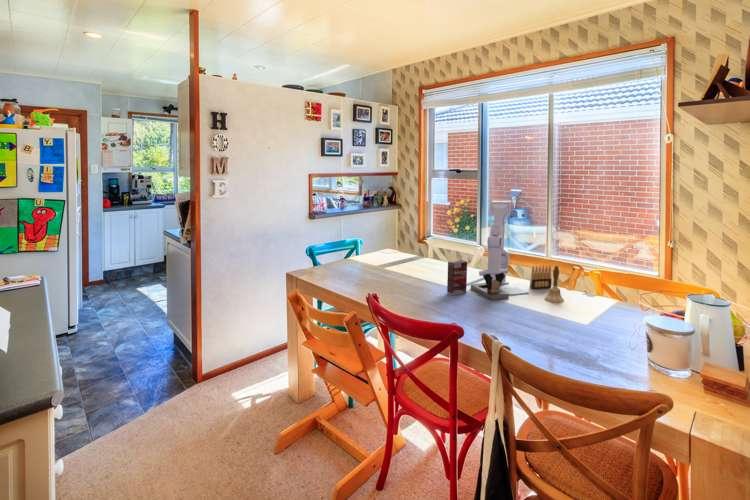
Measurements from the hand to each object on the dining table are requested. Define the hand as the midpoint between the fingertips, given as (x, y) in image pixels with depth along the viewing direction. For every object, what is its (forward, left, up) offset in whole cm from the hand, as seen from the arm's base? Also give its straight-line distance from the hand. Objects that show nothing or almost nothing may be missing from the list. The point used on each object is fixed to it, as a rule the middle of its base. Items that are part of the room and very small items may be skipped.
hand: (493, 289), depth 199 cm
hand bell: (+14, +23, -4) cm, 27 cm away
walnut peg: (0, 0, -3) cm, 3 cm away
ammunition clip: (-4, +29, -4) cm, 29 cm away
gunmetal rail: (-4, 0, -3) cm, 5 cm away
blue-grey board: (-3, +13, -3) cm, 14 cm away
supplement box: (-10, -14, -4) cm, 18 cm away
